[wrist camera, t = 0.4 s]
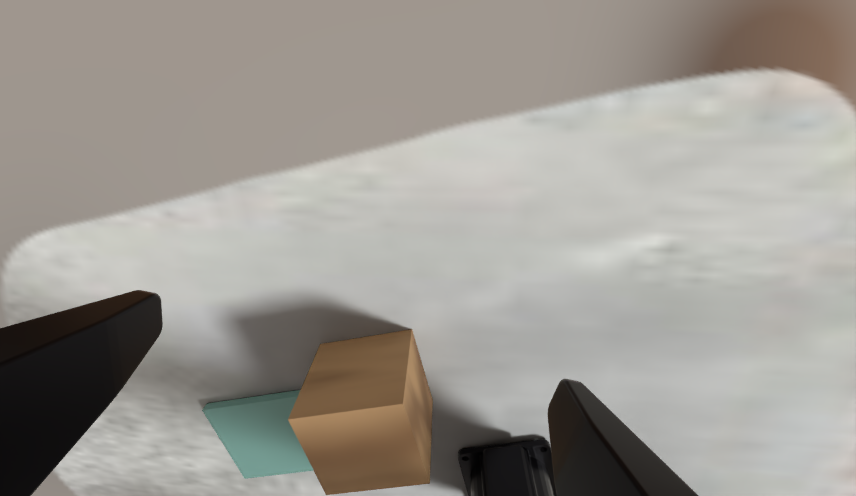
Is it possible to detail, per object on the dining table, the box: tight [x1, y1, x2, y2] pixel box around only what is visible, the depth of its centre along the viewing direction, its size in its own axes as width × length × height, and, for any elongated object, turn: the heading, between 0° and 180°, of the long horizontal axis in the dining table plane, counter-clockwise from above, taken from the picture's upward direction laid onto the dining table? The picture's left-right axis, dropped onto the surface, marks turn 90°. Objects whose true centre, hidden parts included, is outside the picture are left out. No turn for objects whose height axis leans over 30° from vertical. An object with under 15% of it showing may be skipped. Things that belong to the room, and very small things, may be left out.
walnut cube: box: [288, 329, 433, 495], centre depth 24 cm, size 6×6×6 cm
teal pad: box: [202, 390, 313, 479], centre depth 29 cm, size 7×7×1 cm
